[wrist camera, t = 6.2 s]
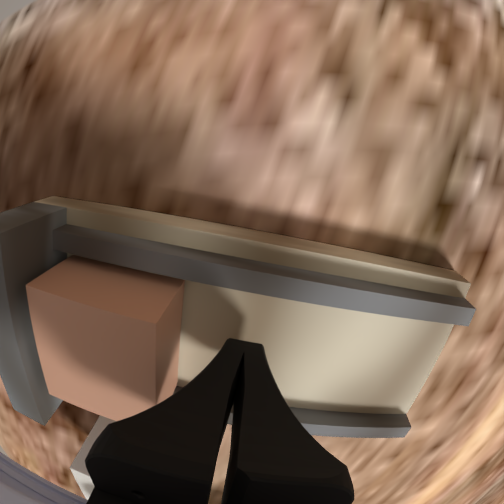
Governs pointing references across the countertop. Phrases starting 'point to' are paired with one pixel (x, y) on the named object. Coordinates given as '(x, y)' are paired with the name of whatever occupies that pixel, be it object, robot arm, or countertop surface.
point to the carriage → (107, 335)
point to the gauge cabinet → (79, 462)
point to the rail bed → (248, 308)
